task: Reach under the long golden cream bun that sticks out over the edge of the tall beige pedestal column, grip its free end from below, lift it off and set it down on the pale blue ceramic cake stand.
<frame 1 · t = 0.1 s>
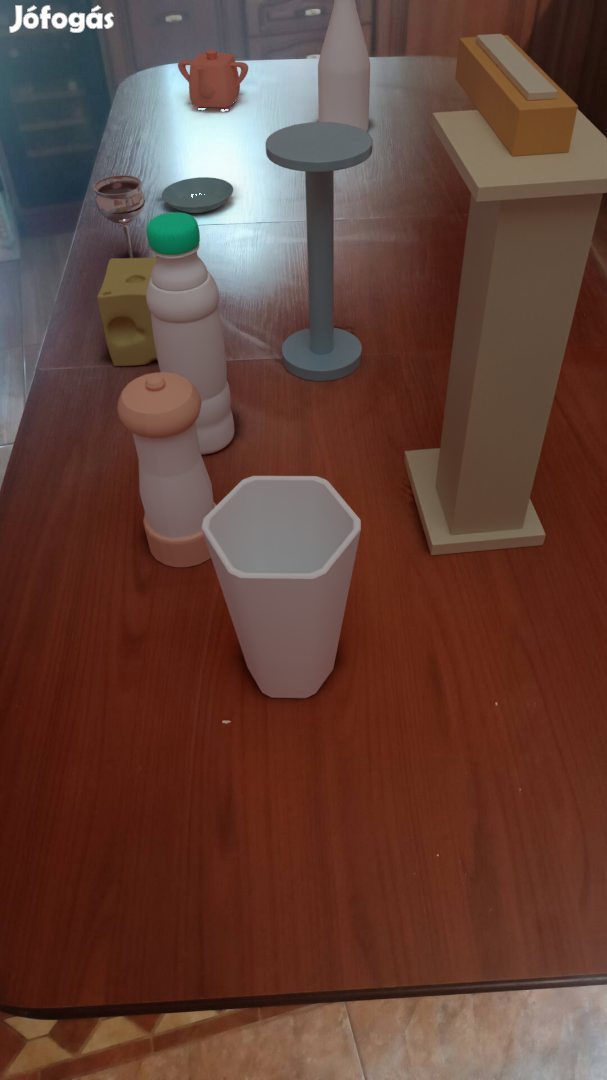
cheese: (156, 346, 104), on the table
cake stand: (321, 358, 101), on the table
cup: (290, 665, 69), on the table
saucer: (199, 206, 133), on the table
salt shaker: (186, 541, 79), on the table
wineglass: (133, 267, 119), on the table
water bottle: (204, 439, 90), on the table
wine bottle: (343, 134, 154), on the table
brown sugar bowl: (216, 107, 167), on the table
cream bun: (506, 112, 61), point 35 cm above the table, touching beige pedestal column
beige pedestal column: (469, 501, 82), on the table
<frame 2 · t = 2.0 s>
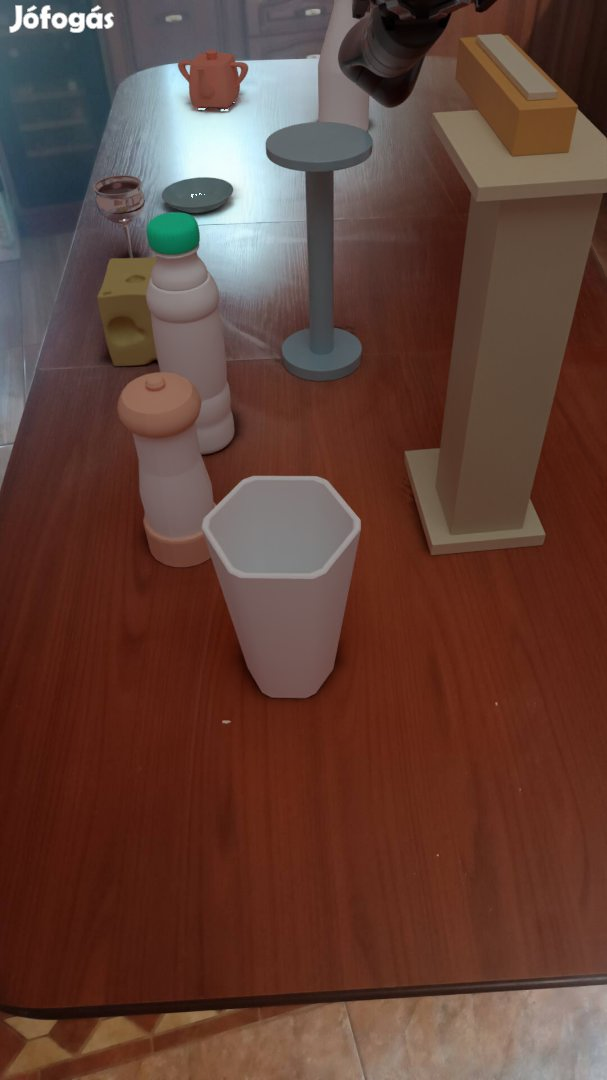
nothing on the table moved.
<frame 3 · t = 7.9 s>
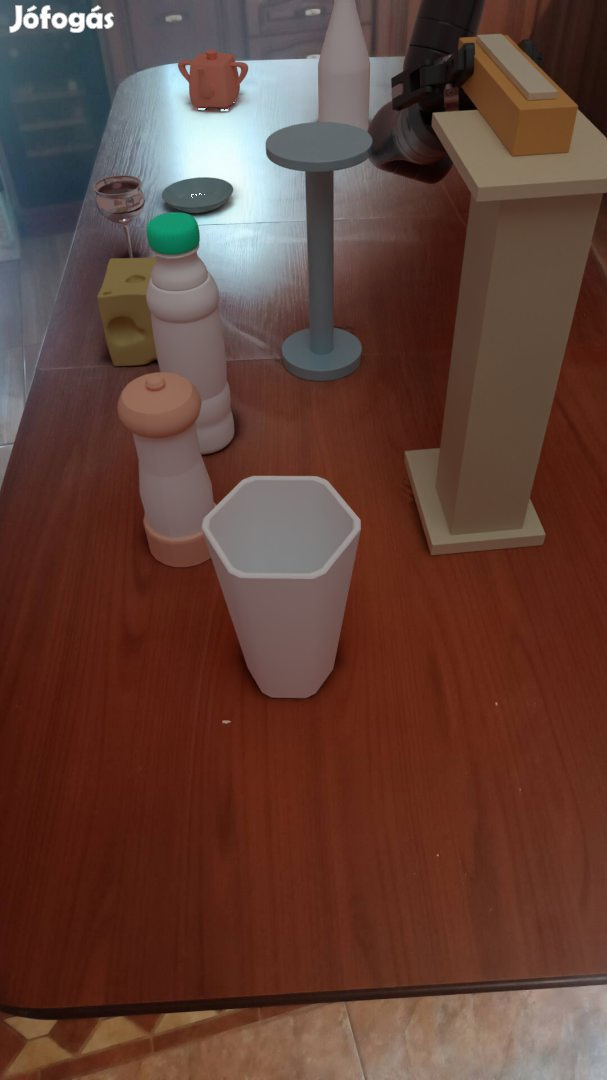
hand: (499, 55, 61), 38 cm above the table, tool pointing upward, fingers closed on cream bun, 4 cm apart
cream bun: (506, 112, 61), point 35 cm above the table, touching gripper, beige pedestal column
everything else where it was.
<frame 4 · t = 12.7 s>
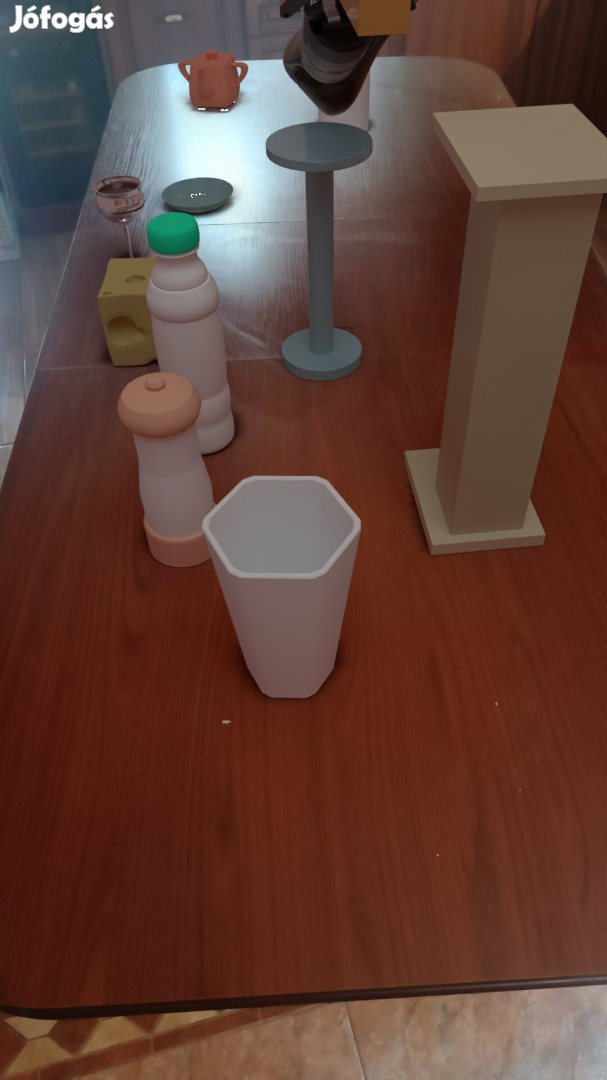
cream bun: (366, 7, 68), point 39 cm above the table, touching gripper
everything else where it was.
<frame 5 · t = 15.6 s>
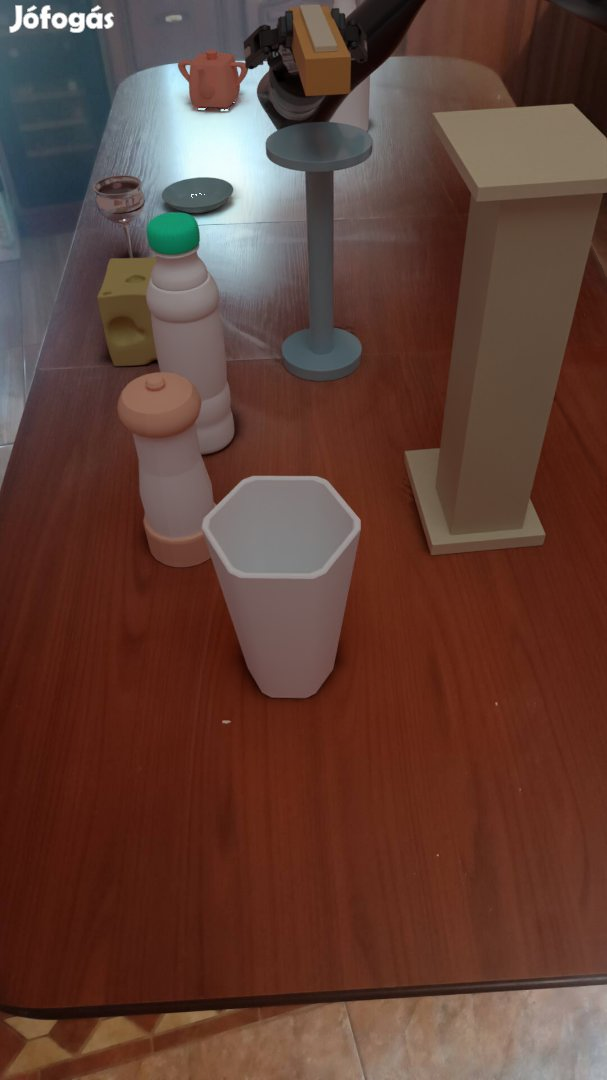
hand: (313, 21, 77), 36 cm above the table, tool pointing upward, fingers closed on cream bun, 4 cm apart
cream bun: (317, 65, 77), point 33 cm above the table, touching gripper
everything else where it was.
when the fingers open (29 cm above the table, at t = 17.8 s): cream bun stays where it is, resting on cake stand.
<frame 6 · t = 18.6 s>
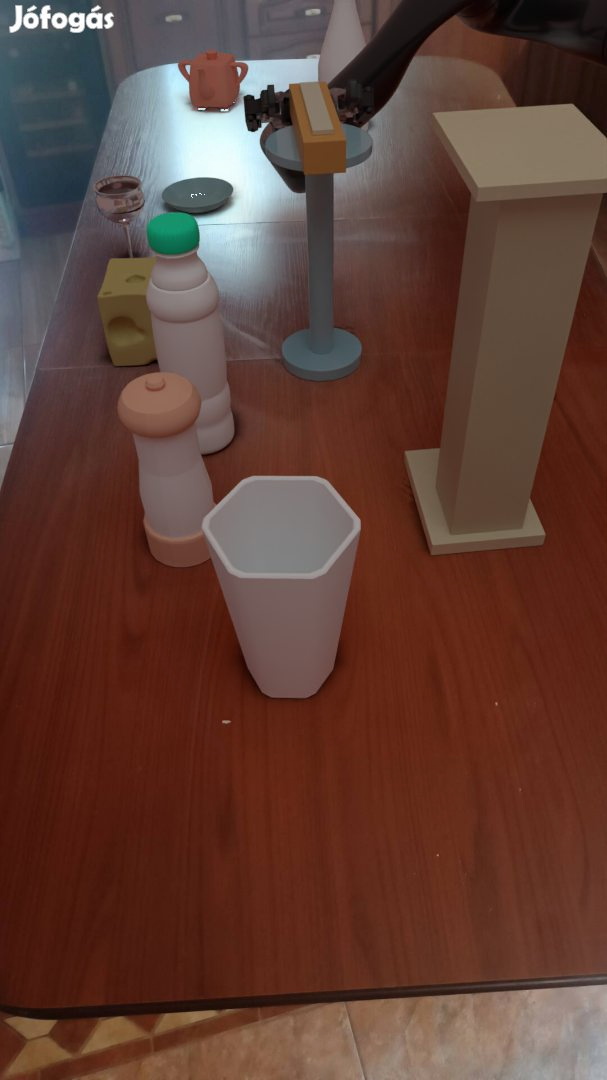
hand: (312, 92, 83), 29 cm above the table, tool pointing upward, fingers open, 8 cm apart
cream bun: (316, 141, 82), point 26 cm above the table, touching cake stand
everything else where it was.
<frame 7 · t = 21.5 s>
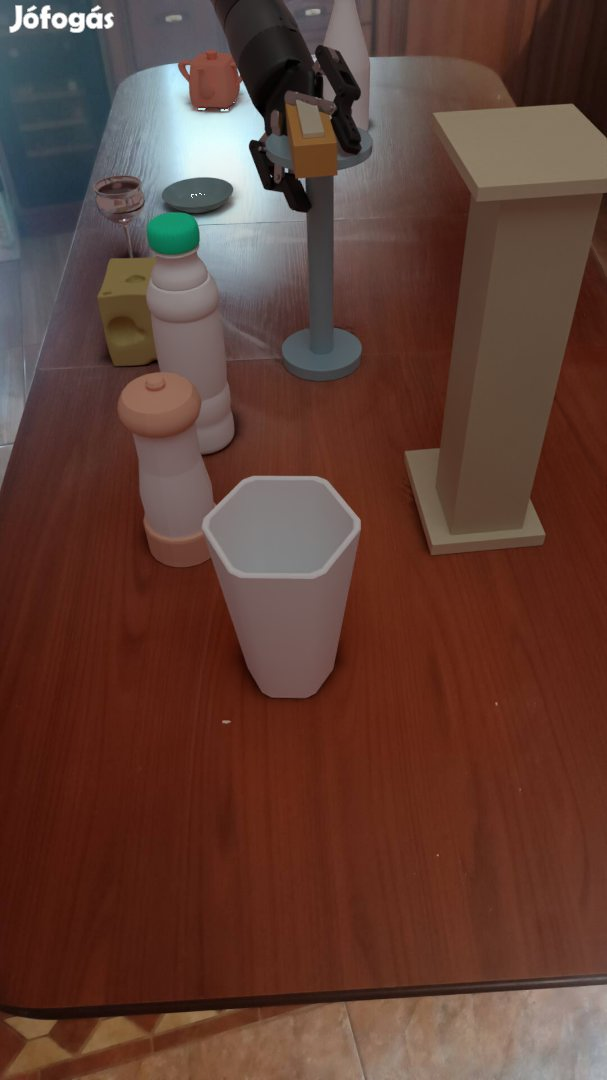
hand: (327, 181, 82), 23 cm above the table, tool tilted 60°
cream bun: (308, 143, 81), point 26 cm above the table, touching cake stand, gripper
everything else where it was.
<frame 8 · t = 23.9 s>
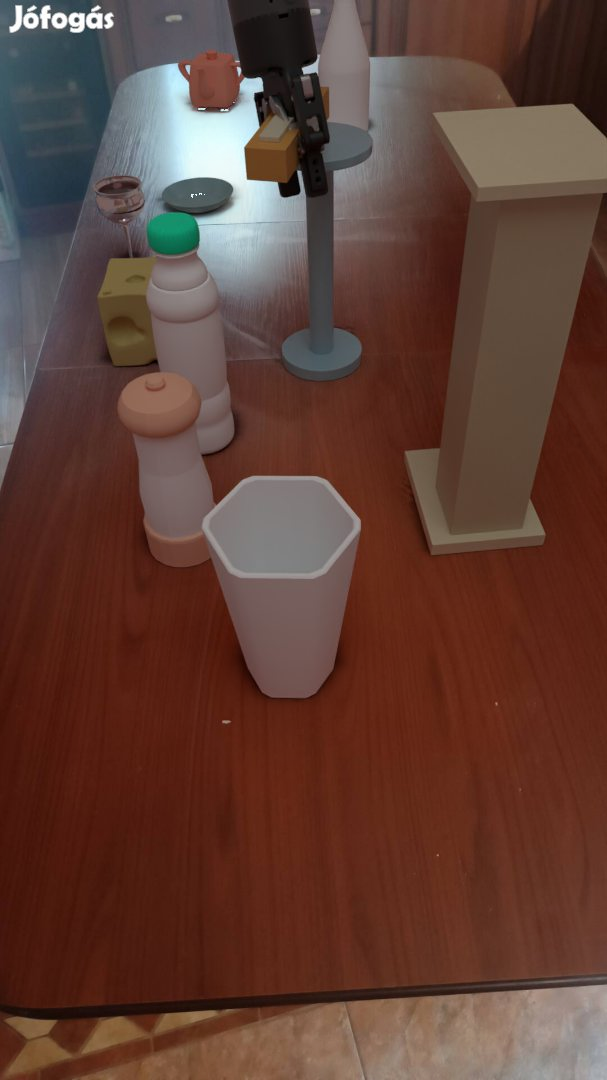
hand: (303, 196, 83), 22 cm above the table, tool tilted 20°, fingers open, 8 cm apart
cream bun: (290, 146, 81), point 26 cm above the table, touching cake stand, gripper
everything else where it was.
at the end: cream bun inside the target area on the cake stand (3.2 cm from its centre), point 26.0 cm above the cake stand's base; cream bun tilted 1°; the gripper is holding nothing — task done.
